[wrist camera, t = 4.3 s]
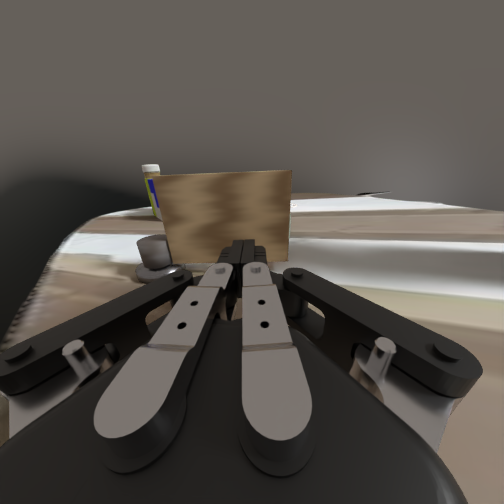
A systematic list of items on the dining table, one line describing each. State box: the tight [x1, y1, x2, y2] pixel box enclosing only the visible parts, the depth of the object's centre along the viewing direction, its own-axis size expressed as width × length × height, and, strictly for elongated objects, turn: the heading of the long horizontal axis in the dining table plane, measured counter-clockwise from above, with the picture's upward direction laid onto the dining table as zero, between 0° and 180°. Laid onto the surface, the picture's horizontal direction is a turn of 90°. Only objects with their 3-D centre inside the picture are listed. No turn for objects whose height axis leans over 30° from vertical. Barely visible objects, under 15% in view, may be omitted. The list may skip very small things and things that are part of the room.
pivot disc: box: [136, 263, 185, 284], centre depth 24 cm, size 6×6×1 cm
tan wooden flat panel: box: [137, 170, 292, 269], centre depth 21 cm, size 18×4×10 cm, turn 88°
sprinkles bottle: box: [142, 165, 160, 179], centre depth 57 cm, size 5×5×13 cm
